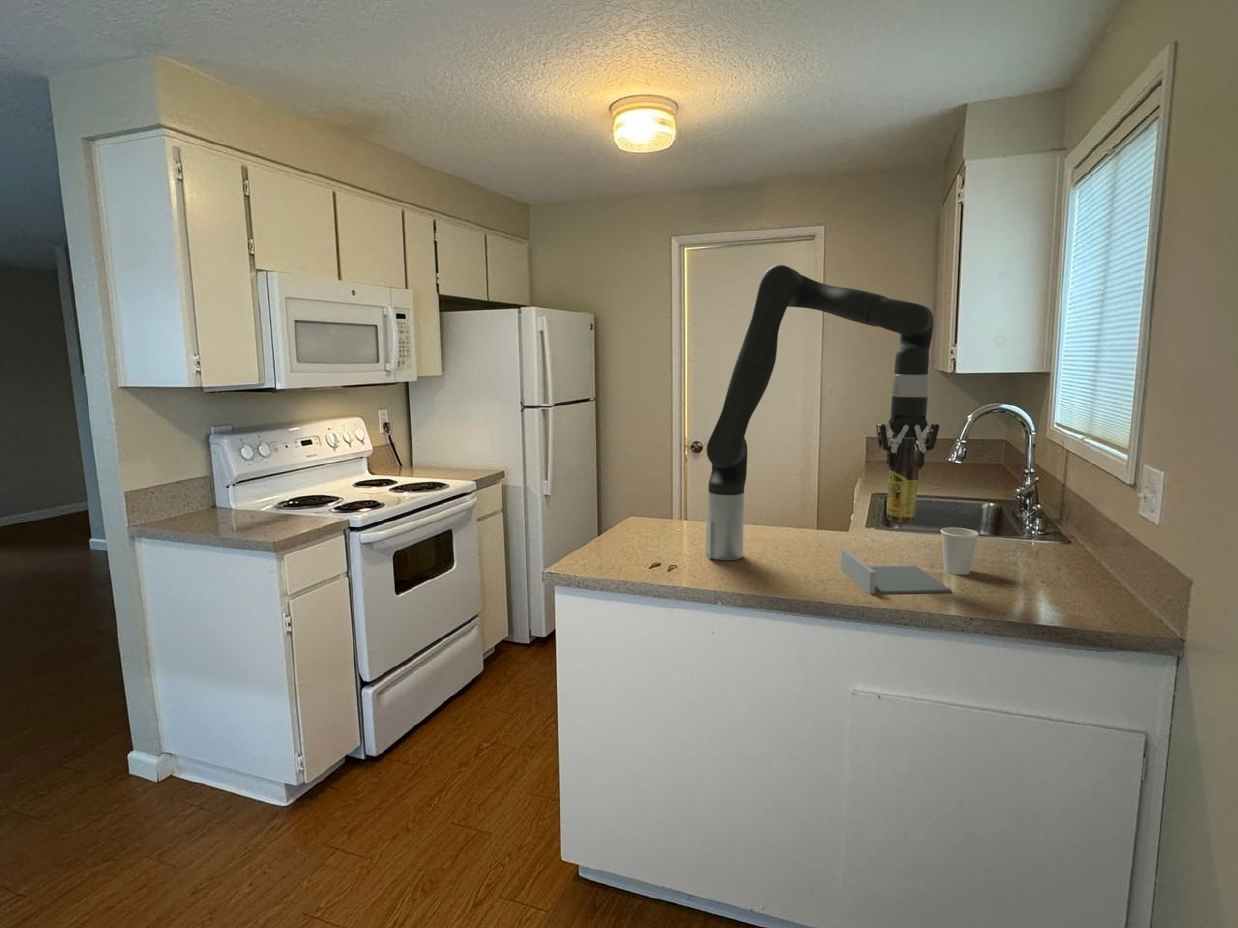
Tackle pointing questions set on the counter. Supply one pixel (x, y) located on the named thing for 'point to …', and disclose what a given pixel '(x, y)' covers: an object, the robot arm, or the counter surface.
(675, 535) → the counter surface
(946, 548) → the dixie cup
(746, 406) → the robot arm
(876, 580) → the slate mat
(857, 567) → the low wall
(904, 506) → the sauce bottle
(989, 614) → the counter surface
